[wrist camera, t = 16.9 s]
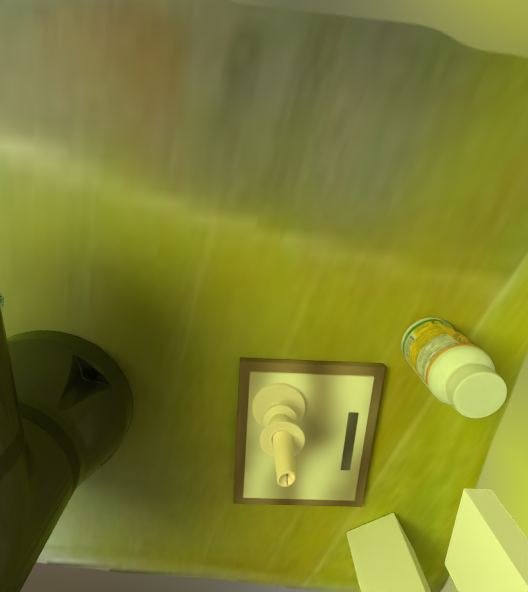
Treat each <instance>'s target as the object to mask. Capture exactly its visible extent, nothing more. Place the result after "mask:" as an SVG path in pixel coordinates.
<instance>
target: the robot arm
mask: <svg viewBox="0 0 528 592" xmlns="http://www.w3.org/2000/svg"><path fill="white" fill-rule="evenodd" d="M3 303H4V298H3V296H2V294H1V293H0V592H20V590H21V589H22V587H23V585H24V583H25V581H26V579H27V578H28V576H29V574H30V572H31V570H32V568H33V566H34V564H35V563H36V561H37V559H38V557H39V555H40V554H41V552H42V550H43V548H44V546H45V544H46V542H47V541H48V539H49V537H50V535H51V533H52V531H53V529H54V528H55V526H56V524H57V522H58V520H59V518H60V517H61V515H62V513H63V511H64V509H65V507H66V505H67V504H68V501H69V500H70V498H71V496H72V494H73V492H74V490H75V489H76V488H77V487H78V486H79V485H80V484H81V483H82V482H83V481H84V480H85V479H87V478H88V477H89V476H90V475H91V474H92V473H93V472H94V471H95V470H96V469H98V468H99V467H101V466H102V465H103V464H104V463H106V462H107V461H108V460H109V459H110V458H111V457H112V456H113V455H114V453H115V452H116V451H117V449H118V448H119V446H120V444H121V443H122V441H123V438H124V436H125V434H126V432H127V430H128V428H129V425H130V422H131V419H132V412H133V402H132V395H131V391H130V388H129V385H128V383H127V380H126V378H125V376H124V375H123V373H122V371H121V370H120V369H119V367H118V366H117V365H116V363H115V362H114V361H113V360H112V359H111V358H110V357H109V356H108V355H107V354H105V353H104V352H103V351H102V350H100V349H99V348H97V347H96V346H95V345H93V344H91V343H89V342H87V341H85V340H83V339H81V338H79V337H76V336H73V335H70V334H66V333H61V332H55V331H31V332H25V333H21V334H18V335H15V336H12V337H10V338H8V339H7V338H6V333H5V327H4V322H3V317H2V311H1V307H3ZM445 566H446V568H447V570H448V572H449V574H450V576H451V578H452V580H453V582H454V584H455V586H456V588H457V590H458V592H528V539H527V537H526V536H525V535H524V533H523V532H522V531H521V529H520V528H519V527H518V525H517V524H516V523H515V521H514V520H513V518H512V517H511V516H510V514H509V513H508V512H507V510H506V509H505V508H504V506H503V505H502V504H501V502H500V501H499V499H498V498H497V497H496V495H495V494H494V492H493V491H492V490H491V489H464V491H463V494H462V498H461V502H460V506H459V510H458V513H457V517H456V521H455V525H454V529H453V532H452V536H451V540H450V544H449V548H448V552H447V555H446V559H445Z"/></svg>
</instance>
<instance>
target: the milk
mask: <svg viewBox="0 0 528 592" xmlns="http://www.w3.org/2000/svg"><path fill="white" fill-rule="evenodd" d="M346 534H347V538H348V542H349V546H350V550H351V554H352V558H353V562H354V566H355V570H356V574H357V578H358V582H359V586H360V590H361V592H431V590H430V588H429V585H428V583H427V580H426V578H425V576H424V573H423V571H422V568H421V566H420V564H419V561H418V559H417V556H416V554H415V552H414V549H413V547H412V545H411V543H410V541H409V540H408V538H407V536H406V534H405V532H404V530H403V529H402V527H401V525H400V523H399V521H398V520H397V518H396V516H395V514H394V513H391V514H389V515H386V516H384V517H381V518H379V519H377V520H374V521H372V522H369V523H367V524H365V525H362V526H360V527H357V528H355V529H353V530H350V531H348V532H346Z"/></svg>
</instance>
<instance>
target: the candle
mask: <svg viewBox="0 0 528 592" xmlns="http://www.w3.org/2000/svg"><path fill="white" fill-rule="evenodd" d="M252 413H253V416H254V418H255V420H256V421H257V422H258V423H259V424H260V425H261V426H262V427H264V428H265V429H264V430H263V432H262V433H261V436H260V446H261V449H262V450H263V452H264V453H265V454H266V455H267V456H269V457H271V458H274V459H275V468H276V475H277V483H278V484H279V485H280V486H282V487H287V486H290V485H291V484H293V483H294V481H295V479H296V470H295V458H294V456H296V455H297V454H298V453H299V452H300V451H301V450H302V449H303V446H304V443H305V437H304V433H303V432H302V430H301V429H300V428H299V427H298V426H297V425H296V424H298V423H299V422H300V421H301V419H302V418H303V416H304V413H305V401H304V397H303V396H302V394H301V392H300V391H299V390H298V389H297V388H296V387H294V386H292V385H290V384H286V383H272V384H269V385H267V386H264V387H263V388H261V389H260V390H259V391H258V392H257V393H256V395H255V396H254V399H253V402H252Z"/></svg>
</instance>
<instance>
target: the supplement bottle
mask: <svg viewBox="0 0 528 592" xmlns="http://www.w3.org/2000/svg"><path fill="white" fill-rule="evenodd" d="M401 350H402V353H403V356H404V358H405V359H406V360H407V362H408V363H409V364H410V366H411V367H412V368H413V369H414V371H415V372H416V373H417V374H418V376H419V377H420V378H421V379H422V381H423V382H424V383H425V385H426V386H427V387H428V389H429V390H430V391H431V392H432V394H433V395H434V396H435V397H436V398H437V399H438V400H440V401H441V402H443V403H445V404H448V405H452V406H454V408H455V409H456V410H457V411H458V412H459V413H460V414H462V415H464V416H466V417H469V418H482V417H486V416H488V415H491V414H492V413H494V412H495V411H497V410H498V409H499V408H500V407H501V406H502V404H503V403H504V401H505V399H506V395H507V387H506V384H505V382H504V381H503V379H502V378H501V377H500V376H499V375H498V374H497V373H496V372H495V366H494V364H493V361H492V360H491V358H490V357H489V356H488V355H487V354H486V353H485V352H484V351H483V350H482V349H481V348H479V347H478V346H477V345H475V344H474V343H473V342H472V341H471V340H469V339H468V338H467V337H466V336H465V335H463V334H462V333H461V332H459V331H458V330H457V329H456V328H454V327H453V326H452V325H451V324H449V323H448V322H446V321H444V320H441V319H438V318H424V319H421V320H419V321H417V322H415V323H414V324H412V325H411V326H410V327H409V328H408V329H407V330H406V332H405V334H404V335H403V338H402V342H401Z"/></svg>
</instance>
